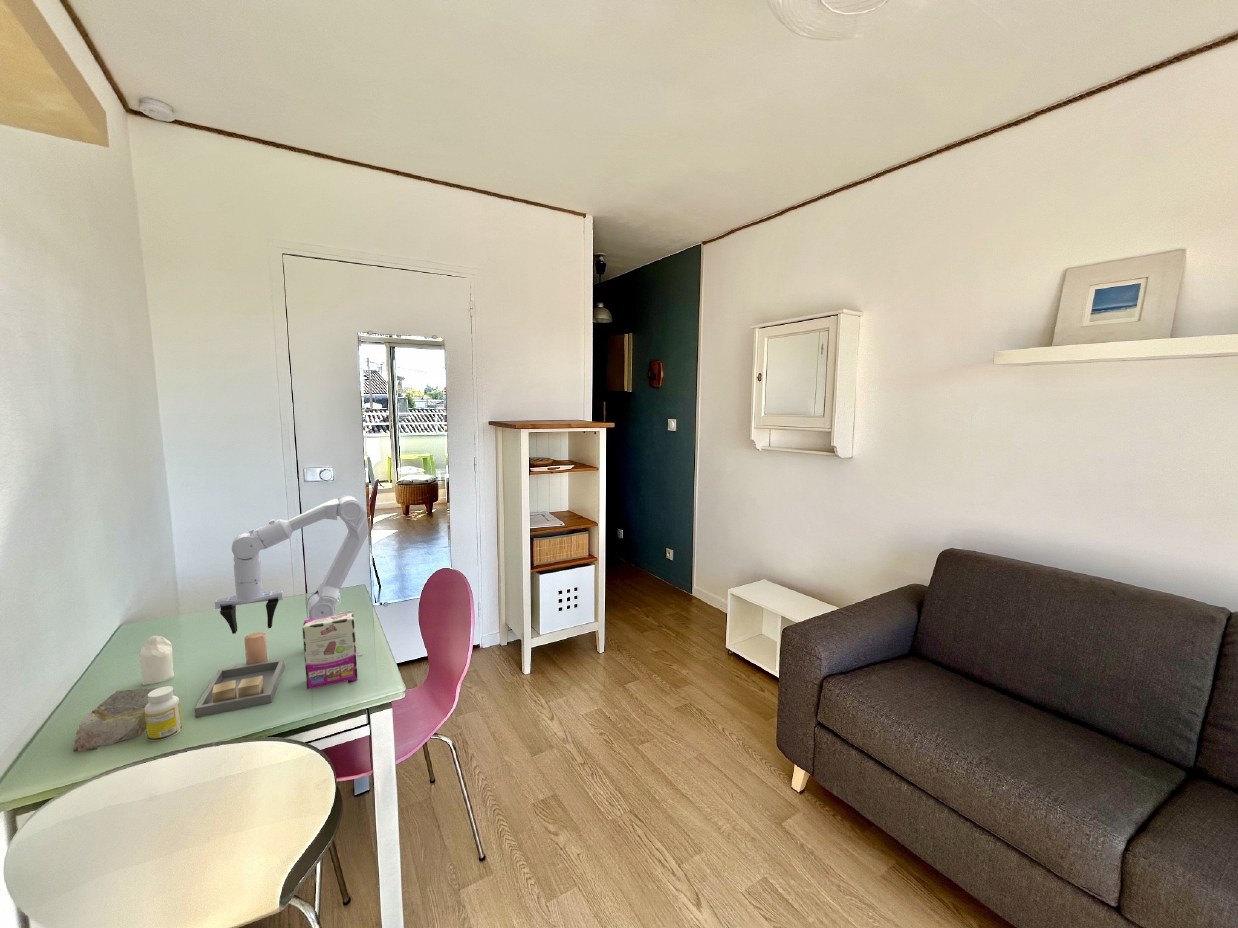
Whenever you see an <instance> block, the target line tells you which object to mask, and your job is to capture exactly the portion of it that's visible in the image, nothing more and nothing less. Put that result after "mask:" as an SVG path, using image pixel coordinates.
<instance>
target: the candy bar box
mask: <svg viewBox="0 0 1238 928" xmlns="http://www.w3.org/2000/svg"><path fill="white" fill-rule="evenodd" d="M355 623H356V622H355V613H354V611H352V612H347V613H346V612H345V613H340V614H336V615H333V616H327V617H321V618H315V619H309V620H306V619H305V620H304V621H303V625H302V640H303V653H304V665H305V666H304V667H305V680H306V690H309V689H314V688H318V687H324V686H329V685H333V684H338V683H344V682H346V681H347V683H350V682H354V681H358V678H359V677H358V672H359V671H358V654H357V640H356V639H357V637H356V626H355Z"/></svg>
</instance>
